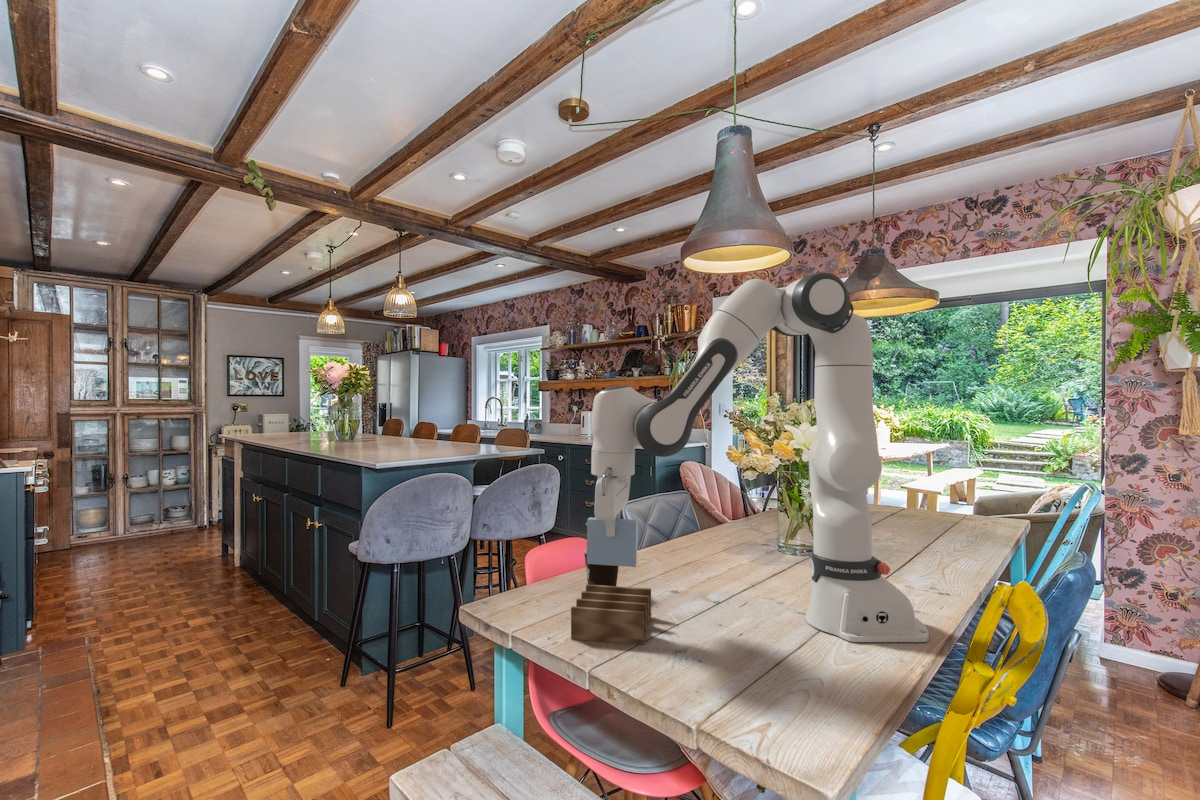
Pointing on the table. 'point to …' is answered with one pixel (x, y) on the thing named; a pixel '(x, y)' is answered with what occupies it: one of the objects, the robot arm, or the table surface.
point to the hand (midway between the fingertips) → (612, 533)
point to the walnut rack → (612, 614)
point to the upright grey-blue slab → (612, 543)
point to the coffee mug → (601, 573)
